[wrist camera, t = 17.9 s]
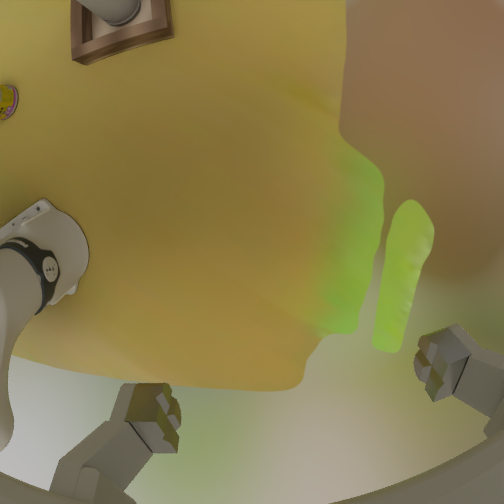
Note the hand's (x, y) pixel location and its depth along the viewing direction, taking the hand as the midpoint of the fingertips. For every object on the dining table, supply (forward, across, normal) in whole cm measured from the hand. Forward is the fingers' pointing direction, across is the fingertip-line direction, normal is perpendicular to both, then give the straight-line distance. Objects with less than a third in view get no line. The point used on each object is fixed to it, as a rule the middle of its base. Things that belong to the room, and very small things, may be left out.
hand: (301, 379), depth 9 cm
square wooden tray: (+39, +15, -32) cm, 53 cm away
